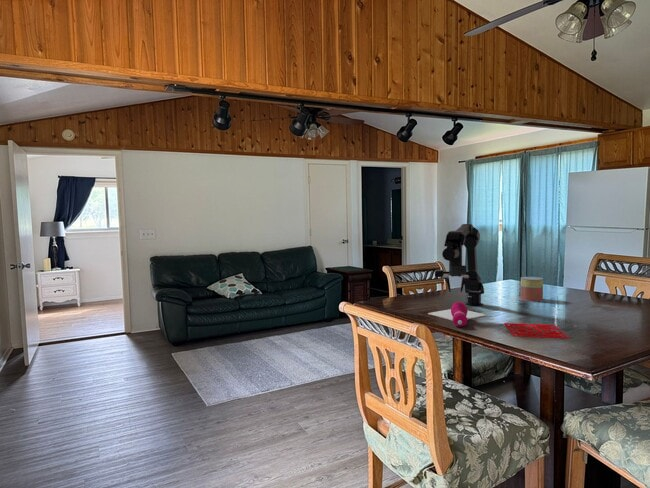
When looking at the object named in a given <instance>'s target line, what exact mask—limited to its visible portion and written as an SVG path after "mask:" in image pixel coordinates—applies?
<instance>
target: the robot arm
mask: <svg viewBox="0 0 650 488" xmlns="http://www.w3.org/2000/svg"><path fill="white" fill-rule="evenodd" d="M480 234H481V233H480V232H479V229H477V228H476V227H475V226H474V225H473V224H471V223H463V224H461V226H459V227H458V228H457V229H456V230H450V231H448V232H447V233H446V236H445V241H444V245H443V246H444V247H446V248H444V249H443V251H442V258H443V259H444V260H446V261H448V266H449V267H448V271H444V269H435V270H434V277H435V278H442V280H444V281H445V283H446V285H447V287H448V291H449V292H450V293H451V290H452V289H451V284H450V283H451V282H450V276H451V277H459V278H460V277H461V282H460V293H462V292H463V289H464V292H465V294H467V302H466V303H465V305H469V306H474V307H476V306H483V305H484V303H482V295H484V294H485V288H484V285H483V282H482V278H481V277H480V275H479V273H478V258H477V257H478V256H477V246H478V245H479V243H480V239H481V235H480ZM463 246H464V247H465V249H466V257H467V258H466V260H467V265H463Z"/></svg>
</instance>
